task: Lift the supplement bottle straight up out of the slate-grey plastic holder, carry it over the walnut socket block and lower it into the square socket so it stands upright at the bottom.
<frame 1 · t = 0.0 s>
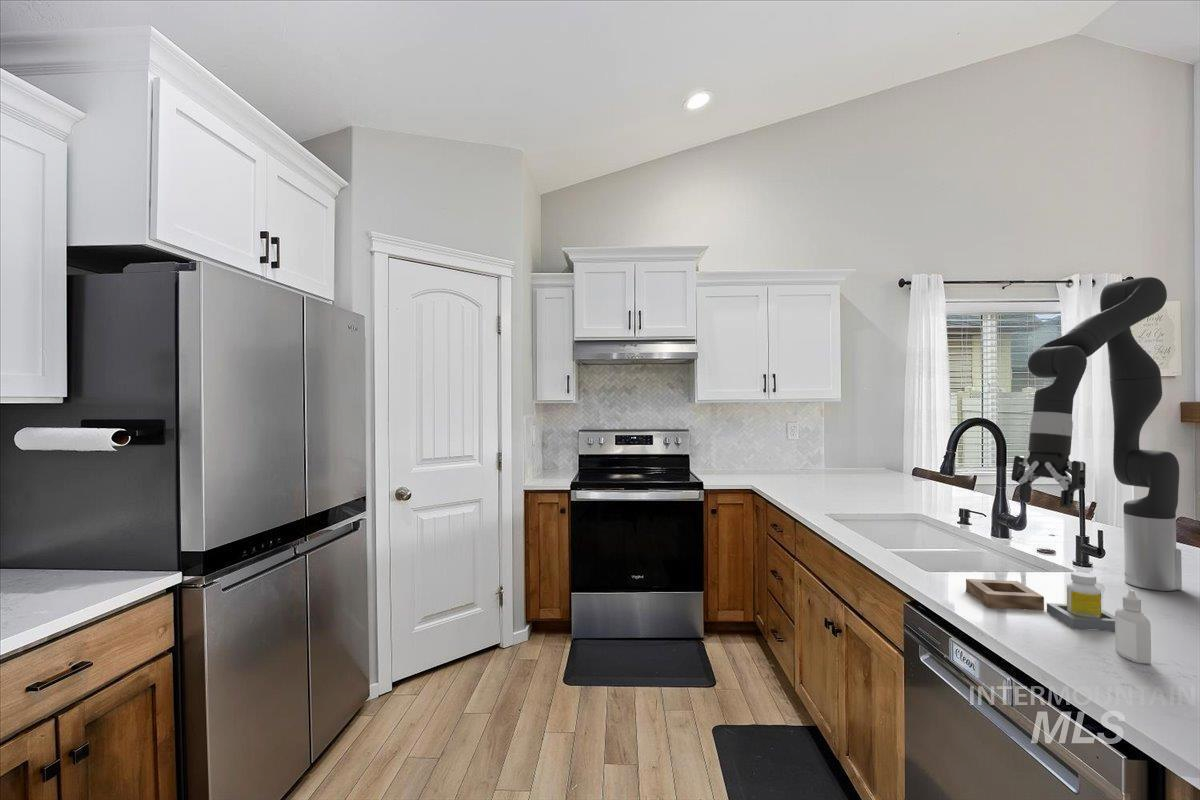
hand: (1044, 504, 128), 22 cm above the countertop, tool pointing down, fingers open, 8 cm apart
socket block: (1003, 600, 130), on the countertop
supplement bottle: (1084, 622, 117), resting in holder
eye dropper bottle: (1132, 658, 101), on the countertop
holder: (1084, 621, 117), on the countertop
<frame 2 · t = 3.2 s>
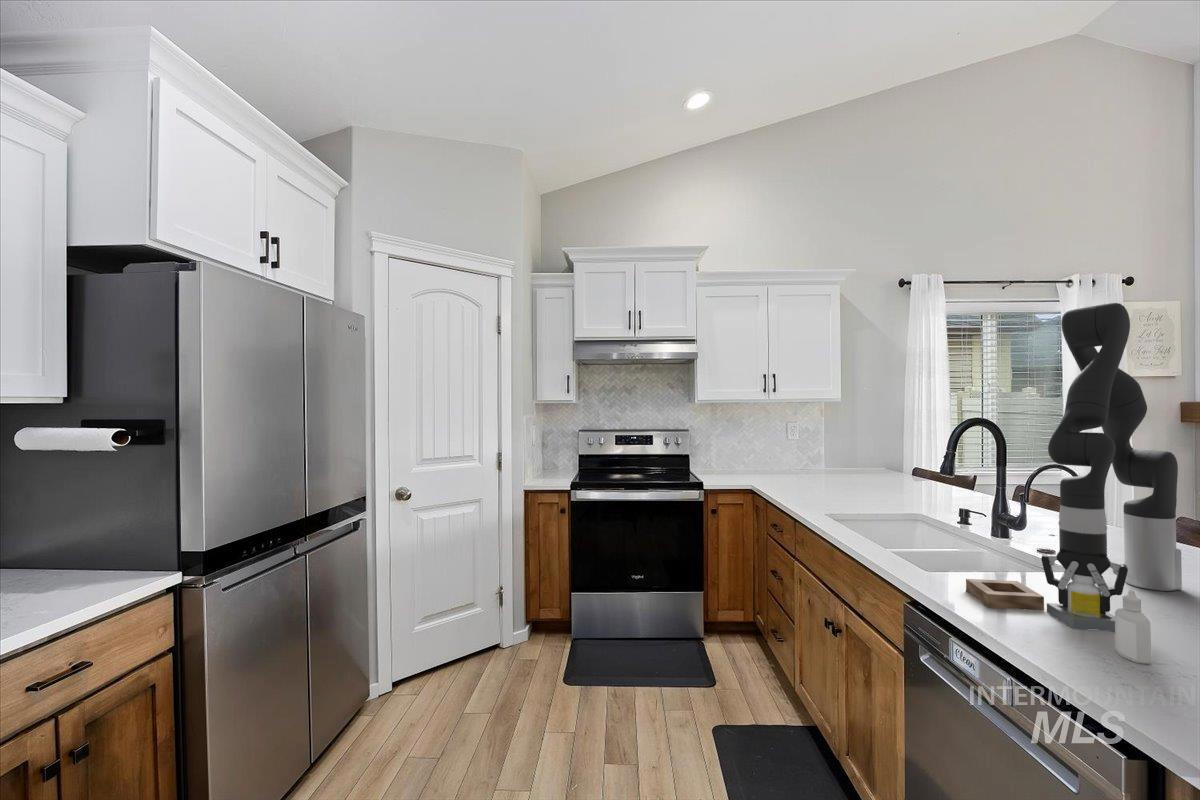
hand: (1083, 609, 117), 3 cm above the countertop, tool pointing down, fingers closed on supplement bottle, 5 cm apart
supplement bottle: (1084, 622, 117), resting in holder, touching gripper
everything else where it was.
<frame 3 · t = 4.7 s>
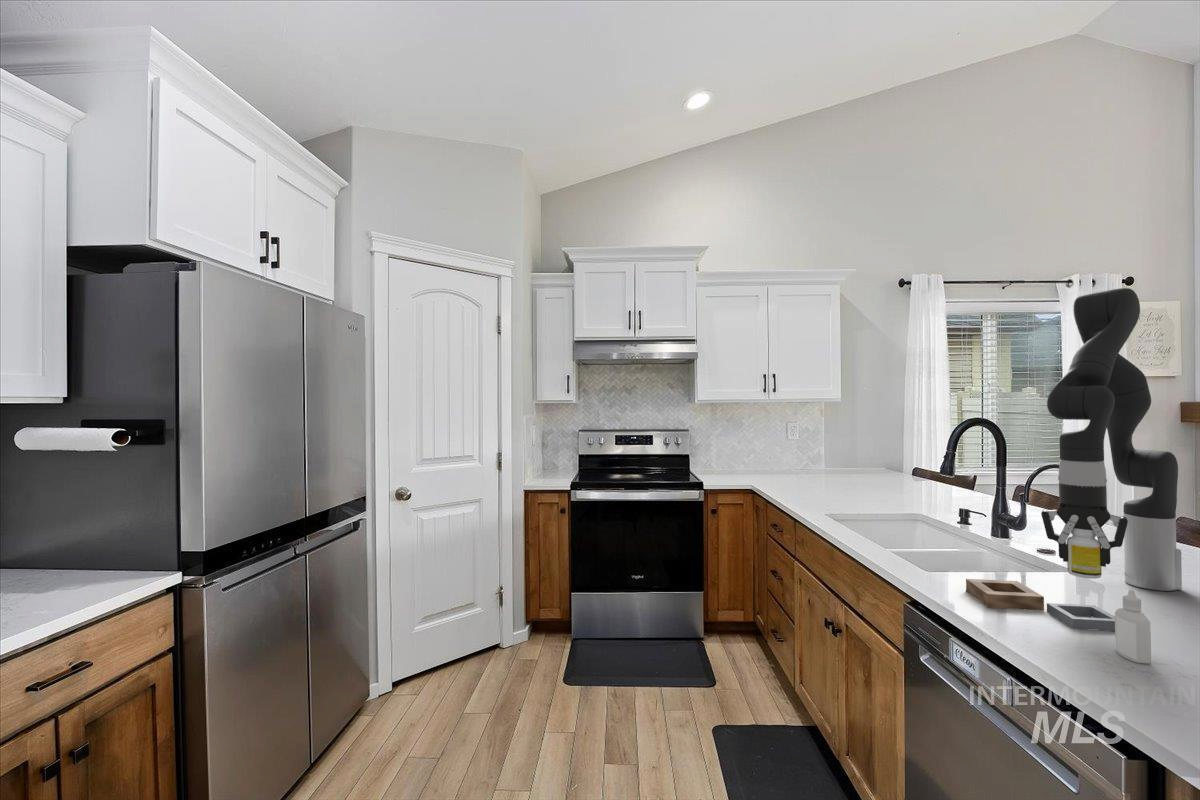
hand: (1084, 562, 117), 12 cm above the countertop, tool pointing down, fingers closed on supplement bottle, 5 cm apart
supplement bottle: (1084, 576, 117), point 9 cm above the countertop, touching gripper
everything else where it was.
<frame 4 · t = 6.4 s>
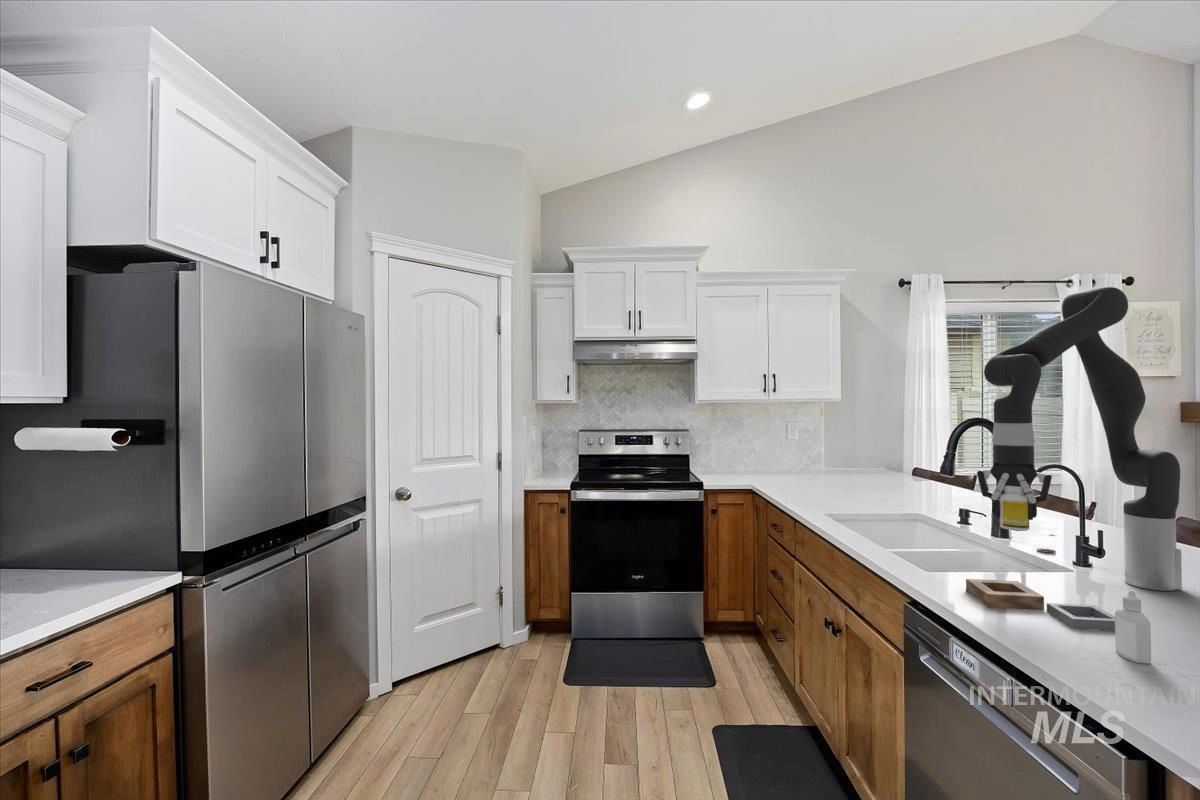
hand: (1014, 517, 127), 20 cm above the countertop, tool pointing down, fingers closed on supplement bottle, 5 cm apart
supplement bottle: (1014, 529, 127), point 17 cm above the countertop, touching gripper
everything else where it was.
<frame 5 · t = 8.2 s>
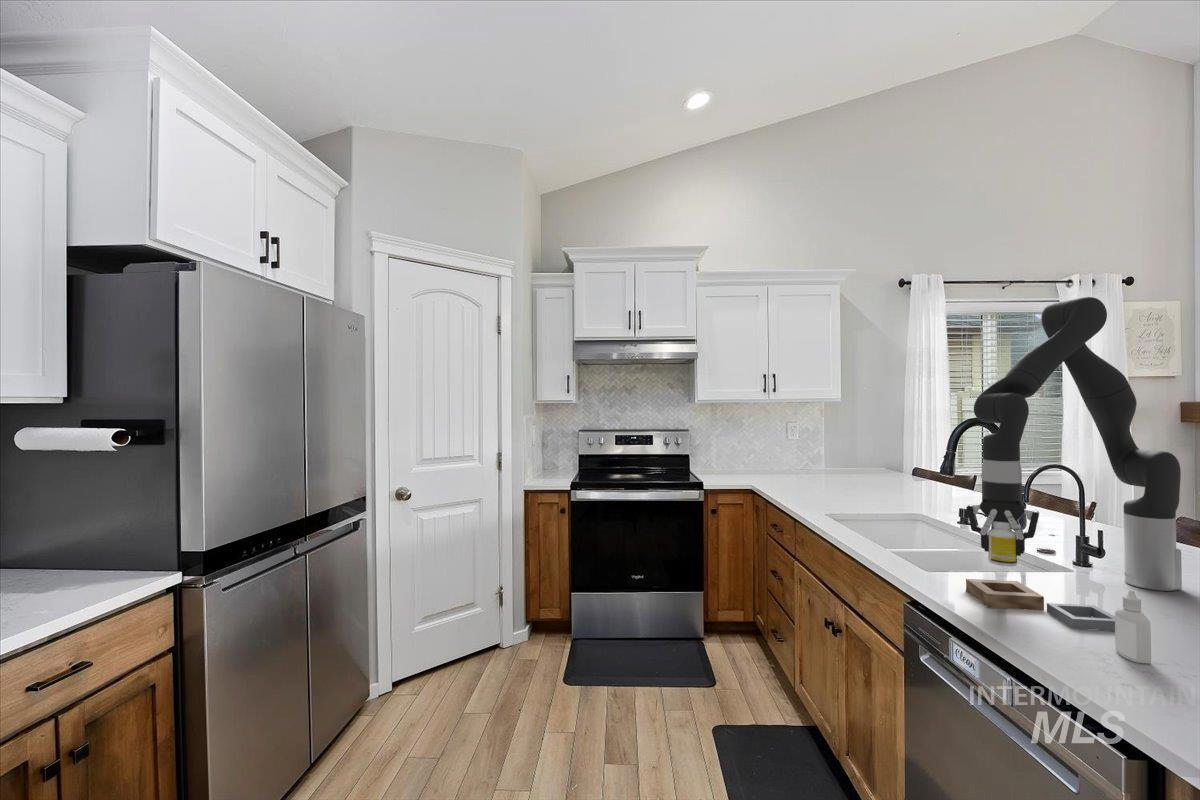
hand: (1002, 552, 130), 11 cm above the countertop, tool pointing down, fingers closed on supplement bottle, 5 cm apart
supplement bottle: (1002, 564, 130), point 8 cm above the countertop, touching gripper
everything else where it was.
when the fingers open (6 cm above the countertop, at t = 9.6 s): supplement bottle drops 4 cm, resting in socket block.
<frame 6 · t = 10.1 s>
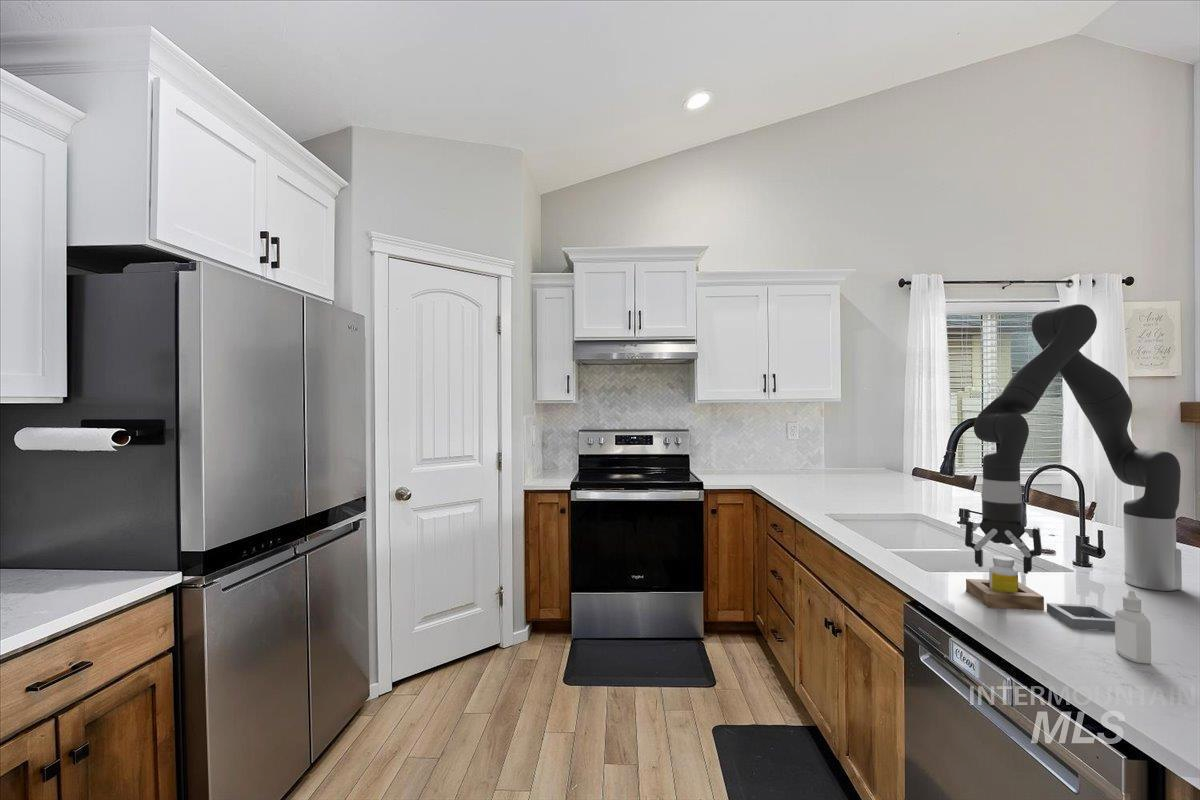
hand: (1002, 569, 130), 7 cm above the countertop, tool pointing down, fingers open, 8 cm apart
supplement bottle: (1003, 601, 130), resting in socket block
everything else where it was.
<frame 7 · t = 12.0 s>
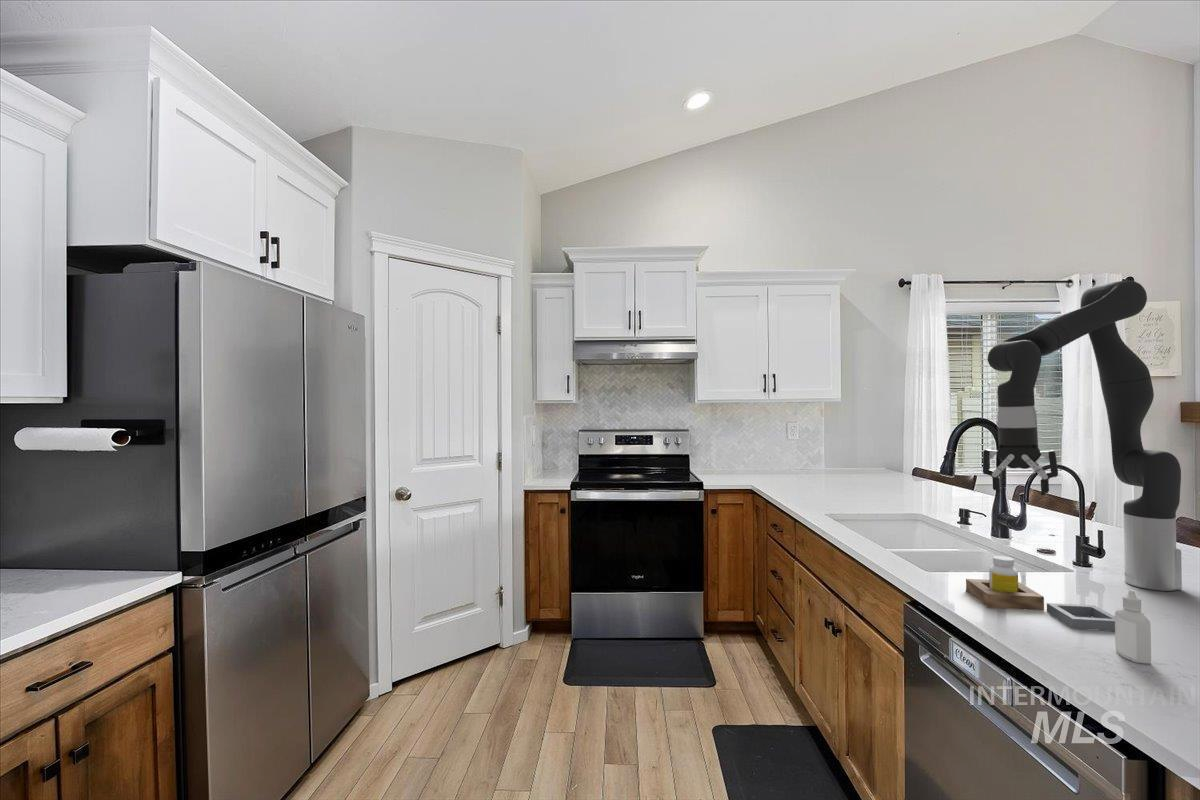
hand: (1020, 493, 134), 24 cm above the countertop, tool pointing down, fingers open, 8 cm apart
nothing on the countertop moved.
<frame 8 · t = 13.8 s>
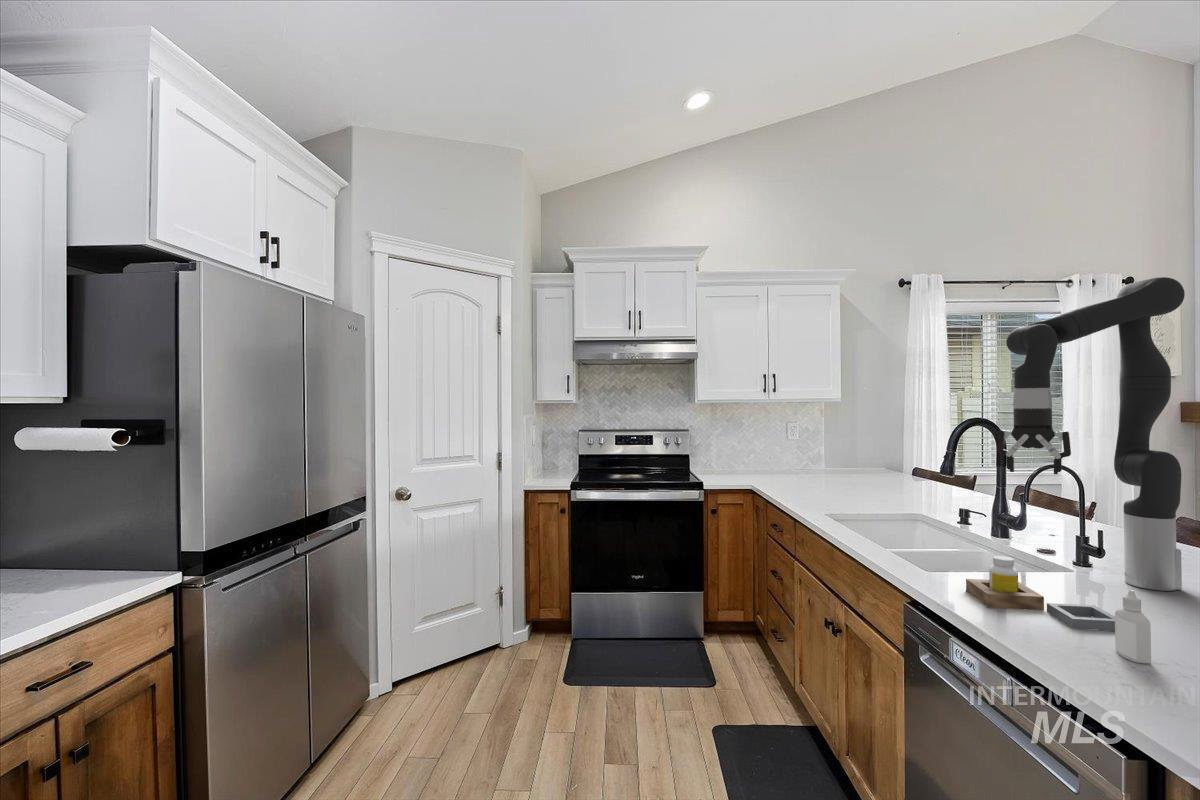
hand: (1033, 472, 138), 28 cm above the countertop, tool pointing down, fingers open, 8 cm apart
nothing on the countertop moved.
at the end: supplement bottle 0.1 cm from the socket block (horizontally); supplement bottle resting in socket block; supplement bottle tilted 0° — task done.
